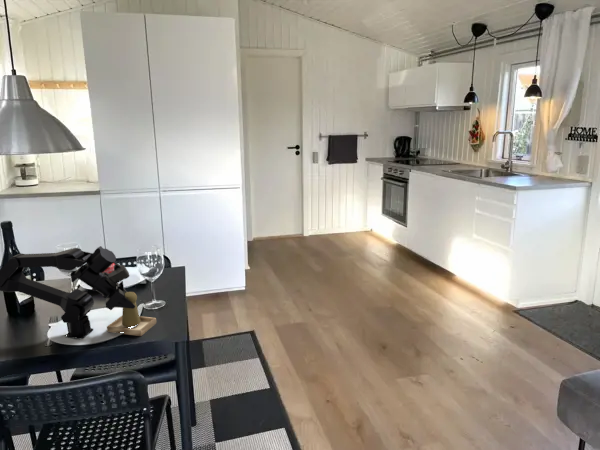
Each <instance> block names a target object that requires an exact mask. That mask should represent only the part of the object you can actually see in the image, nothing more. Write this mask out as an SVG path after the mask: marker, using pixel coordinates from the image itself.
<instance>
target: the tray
mask: <svg viewBox="0 0 600 450" xmlns="http://www.w3.org/2000/svg"><path fill="white" fill-rule="evenodd" d="M139 317H140V323H139V324H138V325H137V326H136V327H134V328H131V329H130V328H128V327H126V326H123V325H122V315H121V316H119V317H118V318H116V319H115V320H114V321H113V322H111V323H110V324H108V325H107V326H106V331H107V333H112V334H113V333H114V334H120V332H124V334H123V335H128V336H137V337H143V335H145V334H146V333H147V332H148V331H150V329H152V328H153V327H154V326H156V325H157V318H156V317H149V316H142V315H141V316H140V315H139Z"/></svg>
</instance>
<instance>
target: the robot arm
mask: <svg viewBox="0 0 600 450" xmlns="http://www.w3.org/2000/svg"><path fill="white" fill-rule="evenodd" d="M116 260H117V257H116V254H114V251H112V250H110V249H108V248H104V247H103V246H98V247H96V248H95V250H94V251H93V252H89V251H83V249H81V248H78V247H74V248H70V249H69V248H68V249H66V250H61V251H58V252H45V253H43V252H42V253H18V254H16V255H13V256H11V257H10V258H9V260H8V261H7V262H6V263H5V264H4V265H3V266H2V267H1V268H0V292H4V293H13V292H14V293H21V294H25V295H27V296H30V297H33V298H35V299H39V300H42V301H44V302H48V303H50V304H54V305H56V306H59V307H60V308H61V309H62V310H63V312H64V313H63V314H62V315H61V317H60V318H61V320H62V322H63V323H64V324H65V323H66V328H67V333H66V334H65V335H64V337H65V336H66V335H67V337H66V338H70V339H76V340H77V339H79V340H81V339H83V338H85V337H86V336H87V335H90V333H92V332H93V331H94V328H91V321H90V319H89V315H88V313H90V312H91V310H92V308H93V307H94V305H95V300H94V298H93V296H92V295H91V294H89V293H88V291H83V290H81V289H79V288H75V289H74V290H72V291H70V292H67V291H65V290H64V291H63V290H61V289H59V288H56V287H53V286H51V285H48V284H44V283H41V282H39V281H36V280H33V279H30V278H29V277H28V278H27V276H26V274H24V273H23V272H24V271H25V268H26V269H27V268H47V267H50V268H51V267H52V268H56V269H58V270H63V271H71V273H70V274H69V275H70V280H71V283H74V282H75V281H77V279H78V280H79V281H81V282H83V283H84V284H86V285H87V286H89V287H90V288H91V290H92V291H93V292H94V293H95V292H98V293H99V294H101V295H102V297H103V298H104V300H105V308H106V309H108V310H110V311H112V310H113V309H115V308H123V307H124V308H132V309H134V308H135V305H134V304H133V303H132V302H131V301H130V300H129V299H128V298H127V297H125V293H126V292H128V291H127V290H126V289H125V287H124V280H126V279H128V278H129V277H130V272H129V271H128V269H127V268H126V266H125V265H123V264H119V263H115V262H117V261H116ZM113 263H114V264H115V265H114V271H112V272H111V273H109V274H108V273H107V272H104V271H105V270H106V269H107V268H108V267H110V266H111V265H112V264H113ZM76 268H78V269H76ZM74 269H76V270H74ZM102 272H103V273H102Z"/></svg>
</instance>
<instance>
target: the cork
mask: <svg viewBox="0 0 600 450" xmlns="http://www.w3.org/2000/svg"><path fill="white" fill-rule="evenodd" d="M125 297H127V298H128V299H129V300H130V301H131V302H132V303H133V304H134V305H135V308H134V309H132V308H124V307H122V315H121V316H122V325H123V326H126V327H131V326H135V325H137V324H139V323H140V317H139V316H140V314H139V313H140V312H139V310H138V309H139V308H138V306H137V299H138V295H137V294H136V293H135V292H134V291H127V292H126V293H125Z"/></svg>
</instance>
